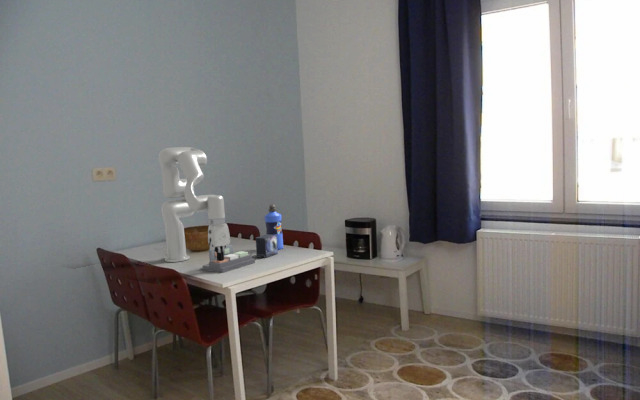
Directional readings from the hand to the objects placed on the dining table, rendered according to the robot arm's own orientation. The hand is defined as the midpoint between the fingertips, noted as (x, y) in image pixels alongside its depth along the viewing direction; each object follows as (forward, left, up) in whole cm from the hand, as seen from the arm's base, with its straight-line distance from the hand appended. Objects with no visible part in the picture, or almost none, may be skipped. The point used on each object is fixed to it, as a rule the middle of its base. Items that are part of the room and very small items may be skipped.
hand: (220, 260), depth 237 cm
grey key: (0, +6, -1) cm, 7 cm away
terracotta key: (0, 0, -2) cm, 2 cm away
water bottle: (-8, +47, -5) cm, 48 cm away
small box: (0, +32, -5) cm, 32 cm away
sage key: (0, +13, -1) cm, 13 cm away
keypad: (-2, +7, -4) cm, 8 cm away
